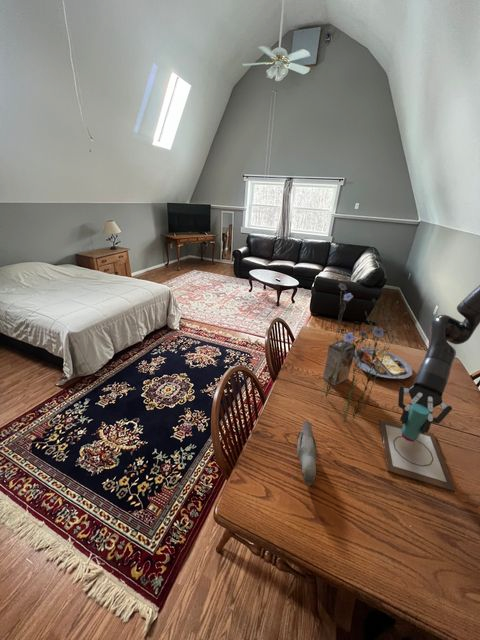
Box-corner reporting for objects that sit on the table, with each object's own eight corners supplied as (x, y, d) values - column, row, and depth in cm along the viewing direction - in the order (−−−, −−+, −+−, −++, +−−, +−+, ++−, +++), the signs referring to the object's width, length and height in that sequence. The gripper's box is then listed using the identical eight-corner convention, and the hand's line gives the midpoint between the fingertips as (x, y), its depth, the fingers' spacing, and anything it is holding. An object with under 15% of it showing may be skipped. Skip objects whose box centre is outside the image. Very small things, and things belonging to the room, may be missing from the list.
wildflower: (387, 419, 92) (433, 296, 73) (344, 447, 81) (385, 310, 62) (336, 382, 109) (362, 275, 90) (294, 401, 98) (314, 283, 79)
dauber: (414, 433, 83) (427, 405, 78) (418, 444, 79) (431, 416, 74) (398, 429, 84) (410, 401, 79) (401, 440, 80) (413, 411, 75)
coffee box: (335, 370, 117) (342, 338, 110) (348, 378, 112) (357, 345, 106) (321, 377, 112) (329, 344, 105) (334, 386, 107) (343, 352, 100)
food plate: (345, 349, 134) (346, 343, 132) (392, 352, 133) (394, 346, 132) (364, 381, 111) (366, 374, 110) (420, 384, 111) (423, 377, 109)
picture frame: (432, 434, 87) (433, 433, 87) (454, 492, 70) (455, 490, 70) (379, 420, 92) (379, 419, 91) (387, 471, 74) (388, 470, 74)
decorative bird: (297, 486, 69) (301, 467, 66) (294, 436, 84) (297, 418, 81) (318, 490, 69) (323, 470, 66) (312, 439, 83) (315, 421, 80)
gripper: (407, 363, 82) (386, 414, 79) (464, 383, 74) (444, 441, 71) (405, 369, 88) (385, 417, 85) (458, 389, 80) (439, 443, 77)
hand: (412, 428), depth 78 cm, fingers closed on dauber, 4 cm apart
